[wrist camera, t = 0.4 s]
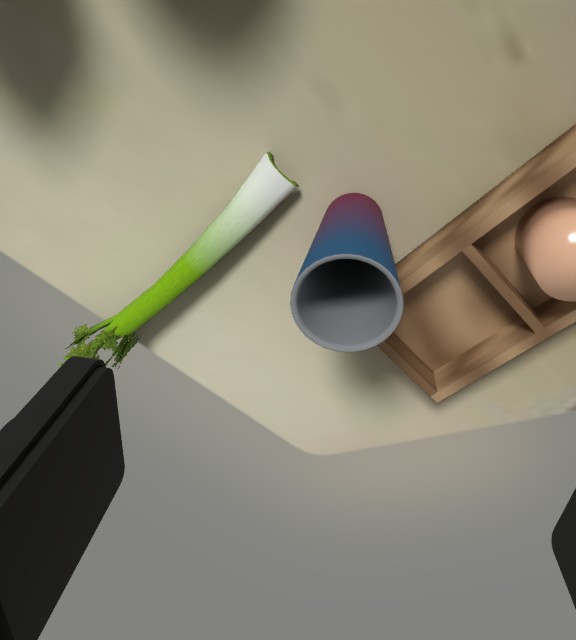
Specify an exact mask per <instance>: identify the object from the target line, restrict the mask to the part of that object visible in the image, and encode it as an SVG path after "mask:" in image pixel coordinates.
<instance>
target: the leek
mask: <svg viewBox="0 0 576 640" xmlns="http://www.w3.org/2000/svg"><path fill="white" fill-rule="evenodd" d="M273 157H274V156H273V155H272V154H271V153H270V152H266V153H265V155H264V156H263V158H262V159H261V160H260V162H259V163H258V165H257V166H256V167H255V169H254V170H253V171H252V173H251V174H250V176H249V177H248V178H247V180H246V181H245V182H244V184H243V185H242V187H241V188H240V189H239V191H238V192H237V194H236V195H235V196H234V198H233V199H232V200H231V202H230V203H229V205H228V206H227V207H226V208H225V209H224V210H223V212H222V213H221V214H220V215H219V216H218V217H217V218H216V220H215V221H214V222H213V223H212V224H211V225H210V226H209V228H208V229H207V230H206V231H205V232H204V233H203V234H202V235H201V237H200V238H199V239H198V240H197V241H196V242H195V243H194V245H193V246H192V247H191V248H190V249H189V250H188V251H187V252H186V253H185V254H184V255H183V256H182V257H181V258H180V259H179V260H178V261H177V262H176V263H175V264H174V265H173V266H172V267H171V268H170V269H169V270H168V271H167V272H166V273H165V274H164V275H163V276H162V277H161V278H160V279H159V280H158V281H157V282H156V283H155V284H154V285H153V286H152V287H150V288H149V289H148V290H147V291H145V292H144V293H143V294H142V295H141V296H139V297H138V298H137V299H136V300H134V301H133V302H132V303H131V304H129V305H128V306H127V307H126V308H124V309H123V310H122V311H121V312H119V313H118V314H117V315H115V316H113V317H111V318H109V319H107V320H105V321H103V322H101V323H99V324H97V325H95V326H93V327H91V328H90V329H88V328H86V326H87V324H85V325H84V326H80V327H79V329H78V330H77V328H75V331H74V334H75V338H76V339H75V341H74V342H73V343H72V344H73V345H74V344H78V346H77V347H78V348H77V349H75V347H72V348H71V353H70V354H69V355H66V356H65V357H64V359H65V360H68V359H69V358H70V357H72V356H79V357H86V358H93V359H94V357H95V355H96V354H97V351H98V350H99V349H100V348H101V347H102V348H103V349H104V350H105V349H106V347H107V348H108V349H111V348H112V350H113V351H114V350H115V351H114V353H113V354H112V356H115V354H116V353H117V352H118V354H117V355H116V358H115V360H116V359H117V360H118V361H117V360H116V361H117V362H116V363H114V364H113V366H112V367H114V366H116V364H117V363H118V362H120V360H121V362H122V359H123V357H125V356H126V355H127V352H129V351H130V349H131V348H132V347H134V345H135V344H136V343H137V340H138V339H139V338H138V337H137V340H136V337H135V338H134V335H135V333H134V335H133V332H134V331H135V330H137V329H138V328H139V327H140V326H141V325H143V324H144V323H145V322H146V321H148V320H149V319H150V318H151V317H153V316H154V315H155V314H156V313H158V312H159V311H160V310H161V309H163V308H164V307H165V306H166V305H168V304H169V303H170V302H171V301H172V300H174V299H175V298H176V297H177V296H178V295H179V294H181V293H182V292H183V291H184V290H185V289H187V288H188V287H189V286H190V285H191V284H192V283H194V282H195V281H196V280H197V279H198V278H200V277H201V276H202V275H203V274H204V273H205V272H207V271H208V270H209V269H210V268H211V267H213V266H214V265H215V264H216V263H217V262H218V261H219V260H220V259H221V258H222V257H223V256H225V255H226V254H227V253H228V252H229V251H230V250H231V249H232V248H233V247H234V246H236V245H237V244H238V243H239V242H240V241H241V240H242V239H243V238H244V237H245V236H247V235H248V234H249V233H250V232H251V231H252V230H253V229H254V228H255V227H256V226H257V225H258V224H260V223H261V222H262V221H263V220H264V219H265V218H266V217H267V216H268V215H269V214H270V213H271V212H272V211H273V210H274V209H275V208H276V207H278V206H279V205H280V204H281V203H282V202H283V201H284V200H285V199H286V198H287V197H288V196H289V195H290V194H291V193H292V192H293V191H294V190H296V189H297V188H298V187H299V185H298V184H297V183H296V182H294V181H290V180H289V179H288V178H287V177H286V176H284V175H283V174H282V173H281V172H280V171H279V170H278V169H277V168H276V166H275V165H274V163H273V161H272V158H273ZM106 326H107V328H105V330H103V331H102V332H101V334H99V335H97V336H96V339H95V340H92V341H91V342H90V343H89V344H87V346H86V345H85V343H84V341H85V339H87V338H89V337H88V336H90V335H92V334H94V333H95V332H96V331H98V330H100V329H102V328H104V327H106ZM76 330H77V331H79V332H80V333H79V332H77V331H76ZM82 332H83V333H82ZM123 336H124V337H123ZM129 336H130V337H129ZM121 337H123V339H122V340H121V342H120V343H119V345H118V346H117V347H116V344H118V342H117V341H116V340H117V339H119V338H121ZM132 337H133V338H134V339H133V338H132ZM126 340H127V341H126ZM128 340H129V341H128ZM135 340H136V341H135ZM124 343H125V344H124ZM126 343H127V344H126ZM72 344H71V345H72ZM71 345H70V346H71ZM81 345H82V346H81ZM111 345H112V346H111ZM131 345H132V346H131ZM85 346H86V347H85ZM67 348H69V347H67ZM90 349H92V351H90ZM123 349H124V350H123ZM72 350H73V351H72ZM90 352H91V353H90ZM121 355H122V356H121ZM118 357H119V359H118ZM111 358H112V357H111ZM111 358H110V360H111ZM95 359H99V355H98V356H97V357H96V358H95ZM110 360H109V361H110ZM109 361H107V362H106V363H105V366H106V365H107V363H108V362H109ZM65 362H66V361H65ZM121 362H120V363H121ZM62 365H63V363H60V362H59V366H60V367H61V366H62Z"/></svg>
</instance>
